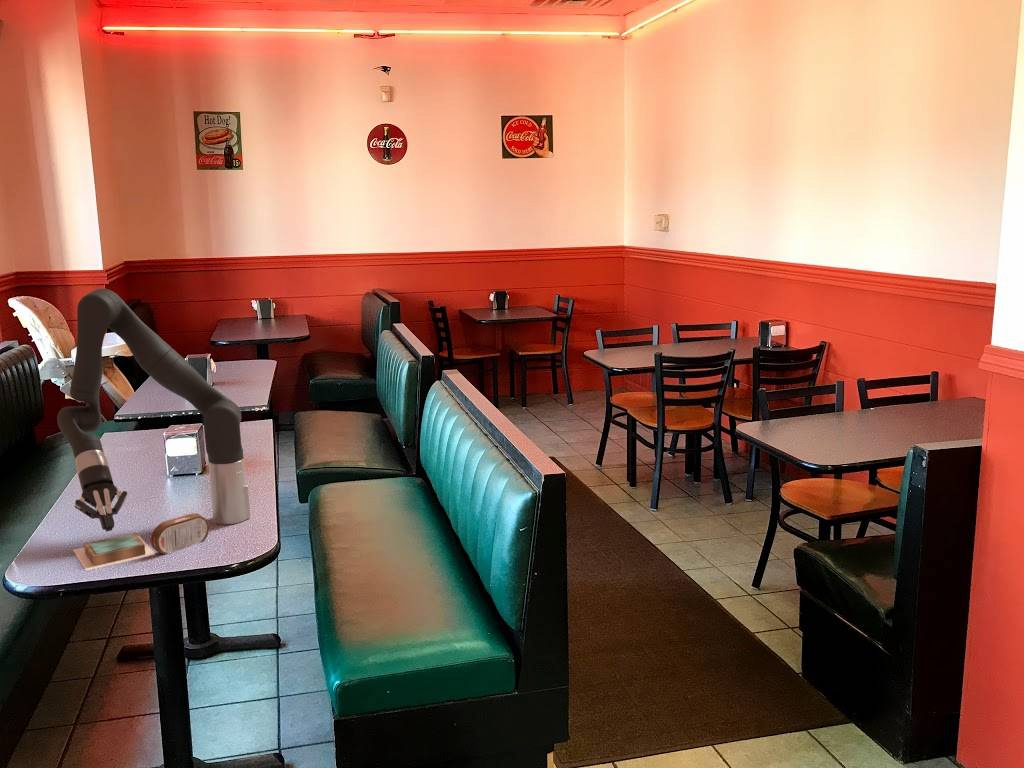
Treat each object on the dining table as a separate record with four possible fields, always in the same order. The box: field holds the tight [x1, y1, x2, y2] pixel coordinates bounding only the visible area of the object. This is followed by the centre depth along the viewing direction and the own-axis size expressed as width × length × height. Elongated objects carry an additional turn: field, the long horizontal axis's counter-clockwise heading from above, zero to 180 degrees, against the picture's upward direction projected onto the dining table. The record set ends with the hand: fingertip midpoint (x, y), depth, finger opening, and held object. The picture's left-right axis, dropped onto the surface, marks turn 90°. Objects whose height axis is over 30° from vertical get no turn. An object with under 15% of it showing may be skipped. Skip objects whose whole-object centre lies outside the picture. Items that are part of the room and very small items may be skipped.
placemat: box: [72, 535, 156, 571], centre depth 224 cm, size 16×16×1 cm
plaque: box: [83, 532, 145, 566], centre depth 222 cm, size 12×3×10 cm
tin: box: [150, 512, 210, 555], centre depth 226 cm, size 15×3×8 cm, turn 141°
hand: (109, 529), depth 224 cm, fingers closed
